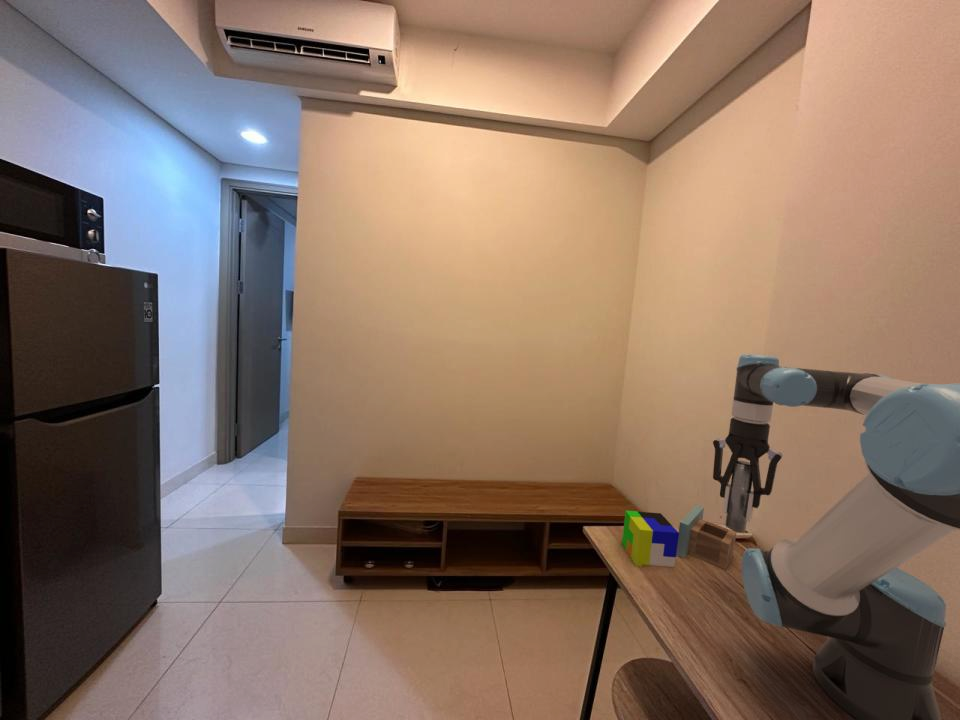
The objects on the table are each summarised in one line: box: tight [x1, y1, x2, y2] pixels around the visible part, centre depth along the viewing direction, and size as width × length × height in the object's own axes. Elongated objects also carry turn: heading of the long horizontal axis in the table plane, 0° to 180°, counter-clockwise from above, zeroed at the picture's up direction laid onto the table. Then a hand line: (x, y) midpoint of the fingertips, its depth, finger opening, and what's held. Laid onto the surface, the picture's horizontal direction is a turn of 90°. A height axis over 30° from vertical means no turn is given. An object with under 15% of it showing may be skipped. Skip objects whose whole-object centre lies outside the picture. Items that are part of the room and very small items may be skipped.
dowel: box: [724, 459, 753, 533], centre depth 88 cm, size 4×4×16 cm
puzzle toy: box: [621, 510, 679, 568], centre depth 100 cm, size 10×10×10 cm
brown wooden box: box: [687, 519, 737, 571], centre depth 102 cm, size 9×9×7 cm
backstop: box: [676, 504, 705, 559], centre depth 100 cm, size 16×19×10 cm
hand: (737, 514), depth 88 cm, fingers closed on dowel, 4 cm apart
